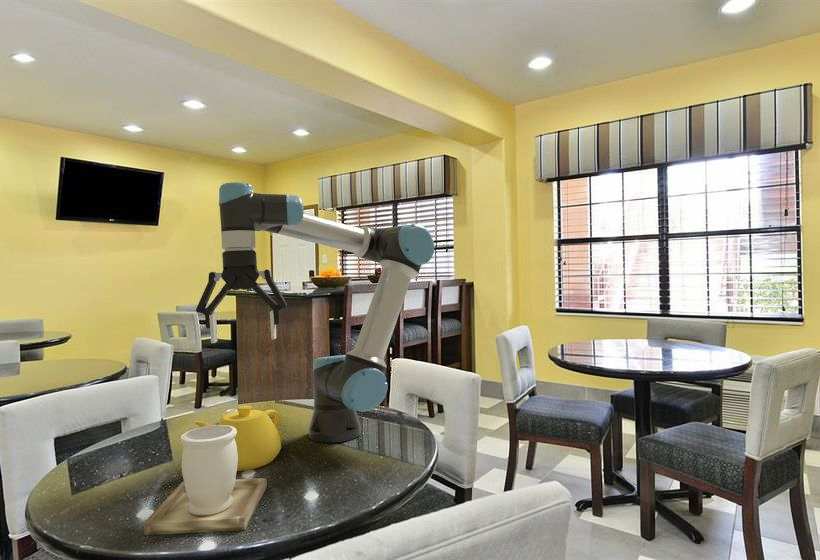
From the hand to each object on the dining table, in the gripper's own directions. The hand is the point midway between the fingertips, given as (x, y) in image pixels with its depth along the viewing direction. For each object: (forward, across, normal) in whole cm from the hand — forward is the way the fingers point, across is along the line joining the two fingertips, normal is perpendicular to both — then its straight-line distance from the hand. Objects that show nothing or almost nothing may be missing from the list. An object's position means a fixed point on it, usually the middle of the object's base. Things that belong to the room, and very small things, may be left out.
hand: (244, 340), depth 116 cm
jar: (+31, +4, +17) cm, 36 cm away
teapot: (+32, +4, -9) cm, 33 cm away
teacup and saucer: (+33, +13, -42) cm, 55 cm away
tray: (+31, +4, +17) cm, 36 cm away
